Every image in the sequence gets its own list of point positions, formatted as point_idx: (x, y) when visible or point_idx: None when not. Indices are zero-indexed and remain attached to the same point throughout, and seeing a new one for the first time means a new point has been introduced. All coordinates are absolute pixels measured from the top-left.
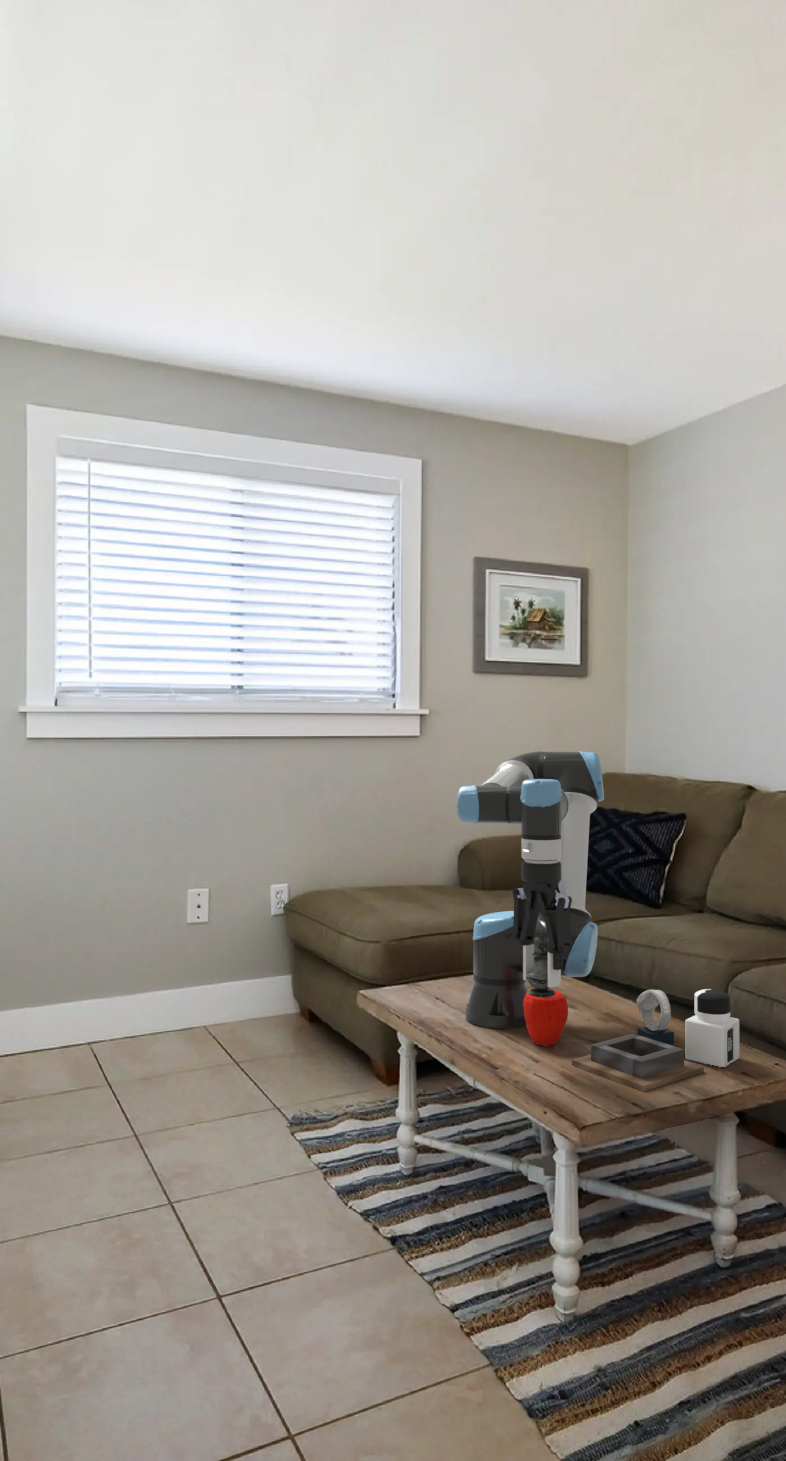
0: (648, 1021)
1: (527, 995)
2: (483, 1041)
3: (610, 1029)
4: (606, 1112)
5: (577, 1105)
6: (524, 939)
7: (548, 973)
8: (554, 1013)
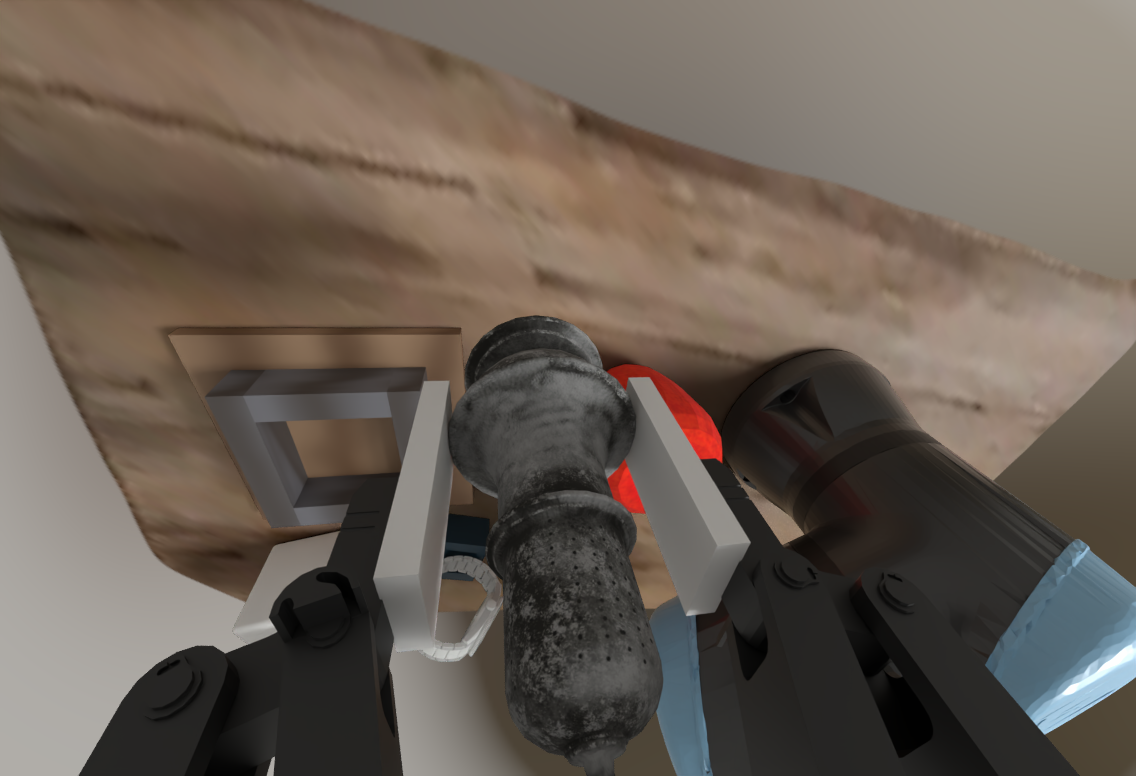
0: (484, 574)
1: (703, 434)
2: (749, 280)
3: None
4: None
5: (101, 38)
6: (772, 608)
7: (431, 434)
8: None
